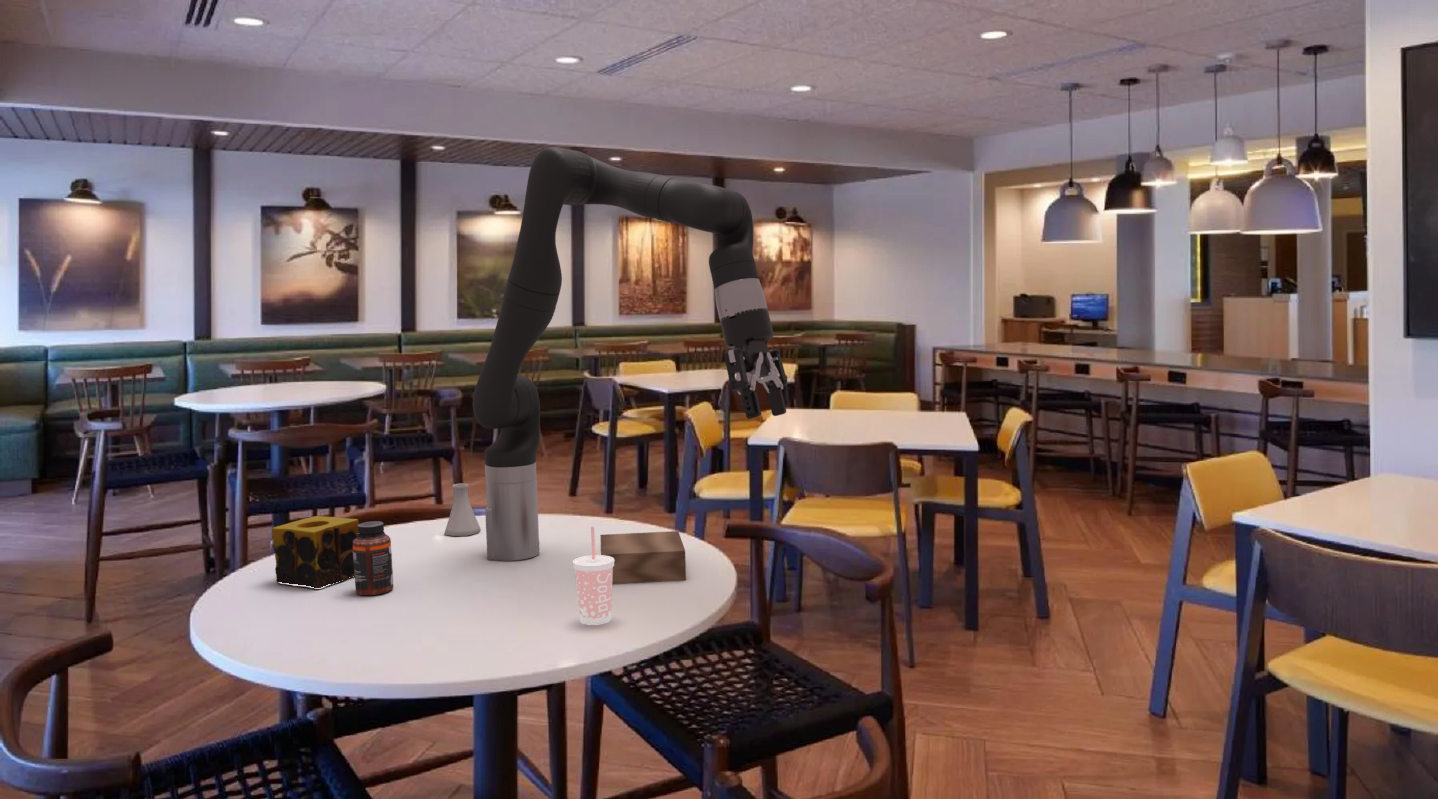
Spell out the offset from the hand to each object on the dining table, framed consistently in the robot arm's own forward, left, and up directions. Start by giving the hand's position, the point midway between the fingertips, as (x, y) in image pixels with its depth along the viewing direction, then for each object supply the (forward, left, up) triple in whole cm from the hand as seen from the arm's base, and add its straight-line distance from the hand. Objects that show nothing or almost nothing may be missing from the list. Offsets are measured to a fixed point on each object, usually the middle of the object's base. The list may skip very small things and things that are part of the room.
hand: (767, 416), depth 150 cm
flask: (-54, +56, -29) cm, 83 cm away
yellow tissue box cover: (-74, +26, -29) cm, 84 cm away
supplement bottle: (-63, +17, -29) cm, 71 cm away
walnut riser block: (-19, +21, -29) cm, 40 cm away
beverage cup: (-27, -4, -29) cm, 40 cm away
